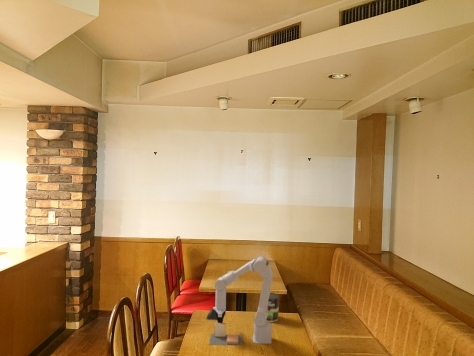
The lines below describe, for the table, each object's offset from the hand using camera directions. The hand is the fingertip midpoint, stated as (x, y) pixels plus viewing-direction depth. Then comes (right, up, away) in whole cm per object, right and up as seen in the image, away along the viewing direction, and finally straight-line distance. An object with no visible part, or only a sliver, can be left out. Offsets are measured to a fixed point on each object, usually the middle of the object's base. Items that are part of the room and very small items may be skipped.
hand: (220, 324), depth 183 cm
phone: (-4, -5, +23) cm, 24 cm away
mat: (+3, -6, -6) cm, 9 cm away
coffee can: (+30, -6, +21) cm, 37 cm away
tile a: (+7, -5, -4) cm, 9 cm away
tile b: (0, -5, -3) cm, 6 cm away
